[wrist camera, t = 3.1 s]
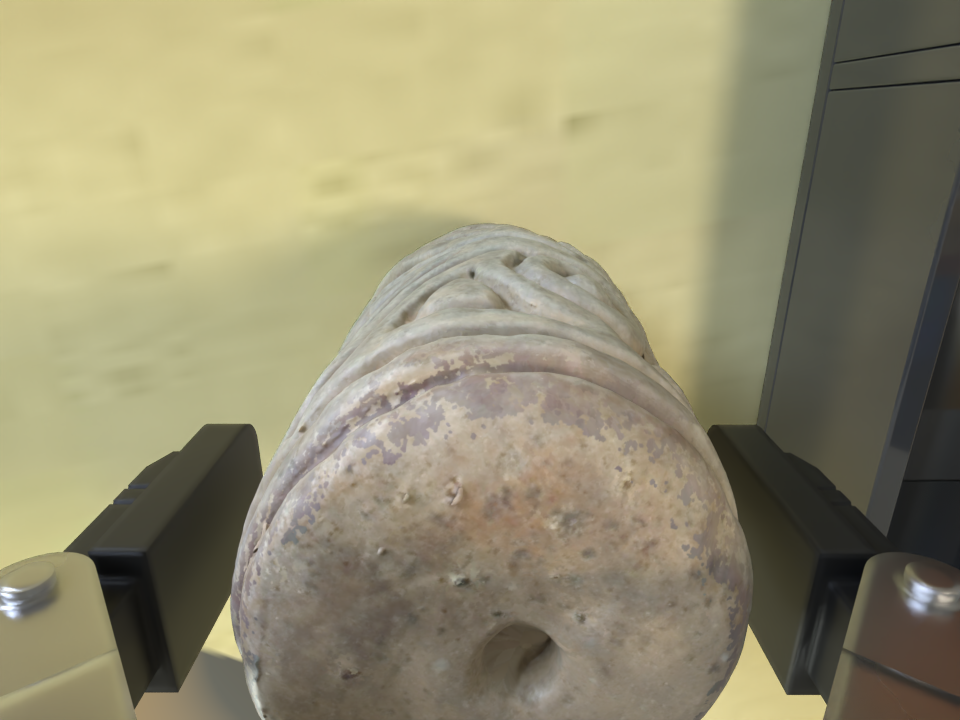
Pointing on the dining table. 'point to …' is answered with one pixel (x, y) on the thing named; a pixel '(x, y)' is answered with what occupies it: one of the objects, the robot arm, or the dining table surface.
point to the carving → (492, 510)
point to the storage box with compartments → (878, 276)
